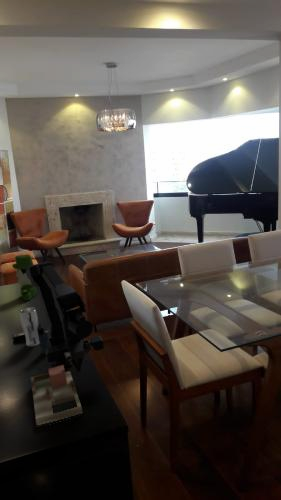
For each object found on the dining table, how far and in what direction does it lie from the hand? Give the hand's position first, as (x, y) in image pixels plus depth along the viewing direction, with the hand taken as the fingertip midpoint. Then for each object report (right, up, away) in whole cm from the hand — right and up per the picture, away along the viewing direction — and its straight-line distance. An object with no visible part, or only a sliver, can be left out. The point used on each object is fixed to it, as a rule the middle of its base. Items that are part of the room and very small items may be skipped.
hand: (78, 371), depth 128 cm
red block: (-6, -3, -2) cm, 7 cm away
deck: (-6, -6, -8) cm, 12 cm away
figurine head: (-46, +13, +99) cm, 110 cm away
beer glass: (-25, +1, +34) cm, 42 cm away
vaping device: (-17, 0, +25) cm, 30 cm away
